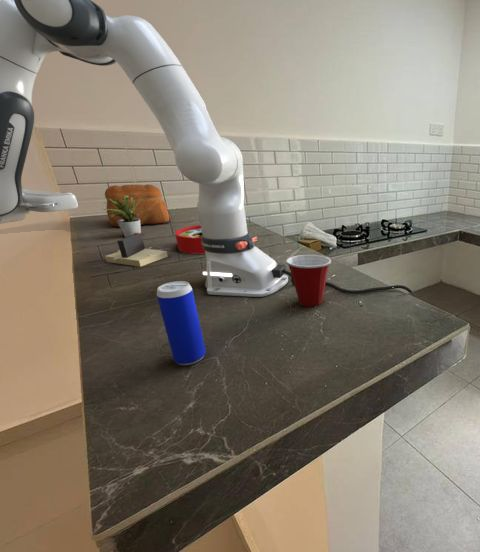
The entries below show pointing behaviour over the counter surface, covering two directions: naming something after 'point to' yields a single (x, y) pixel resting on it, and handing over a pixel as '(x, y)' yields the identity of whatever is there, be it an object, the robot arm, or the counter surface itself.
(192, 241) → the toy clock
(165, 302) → the beverage can
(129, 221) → the house plant
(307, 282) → the plastic cup
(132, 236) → the dark grey flat block
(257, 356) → the counter surface
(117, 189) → the bread
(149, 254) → the panel
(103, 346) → the counter surface
